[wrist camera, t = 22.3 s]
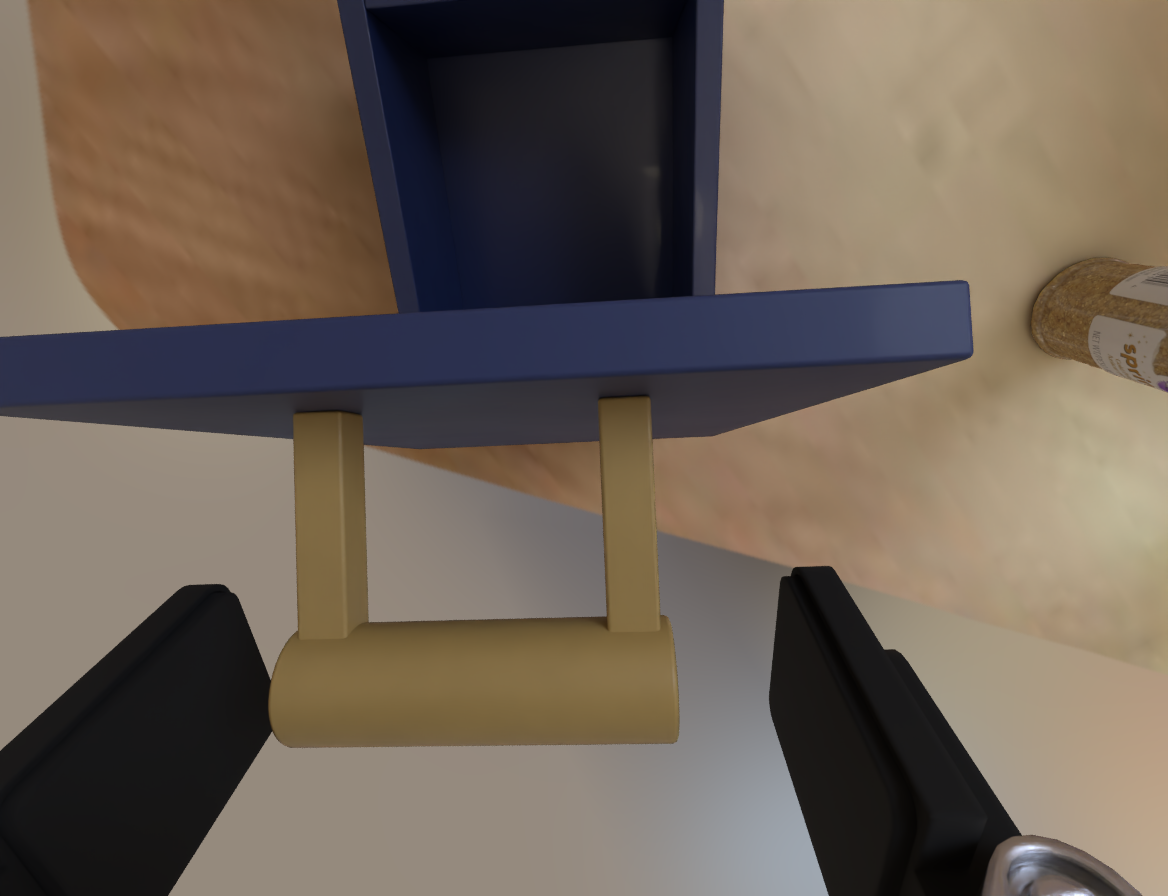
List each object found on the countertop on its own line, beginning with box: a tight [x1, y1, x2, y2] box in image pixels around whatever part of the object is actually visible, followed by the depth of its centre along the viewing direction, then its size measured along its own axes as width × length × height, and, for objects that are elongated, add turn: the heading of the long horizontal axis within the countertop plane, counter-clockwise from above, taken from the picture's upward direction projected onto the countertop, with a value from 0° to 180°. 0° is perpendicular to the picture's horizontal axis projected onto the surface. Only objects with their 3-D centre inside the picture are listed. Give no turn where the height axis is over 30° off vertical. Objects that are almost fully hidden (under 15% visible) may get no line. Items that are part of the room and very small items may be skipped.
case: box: [337, 0, 724, 313], centre depth 21 cm, size 14×11×7 cm
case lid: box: [0, 280, 973, 748], centre depth 13 cm, size 15×11×5 cm
